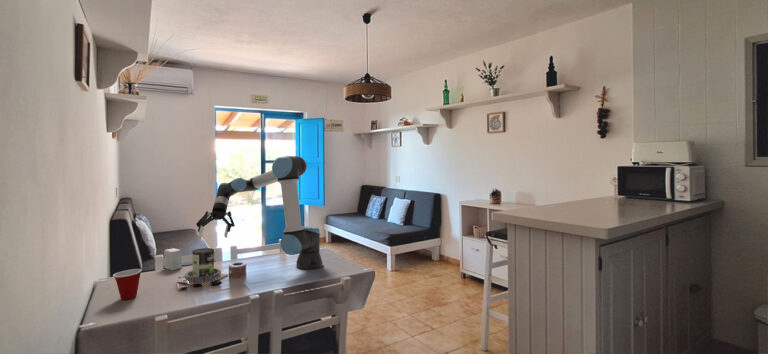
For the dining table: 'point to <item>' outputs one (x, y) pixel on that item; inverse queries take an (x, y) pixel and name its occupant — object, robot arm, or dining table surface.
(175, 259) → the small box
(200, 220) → the robot arm
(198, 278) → the collar plate
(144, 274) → the dining table surface
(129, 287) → the plastic cup
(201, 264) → the coffee can
